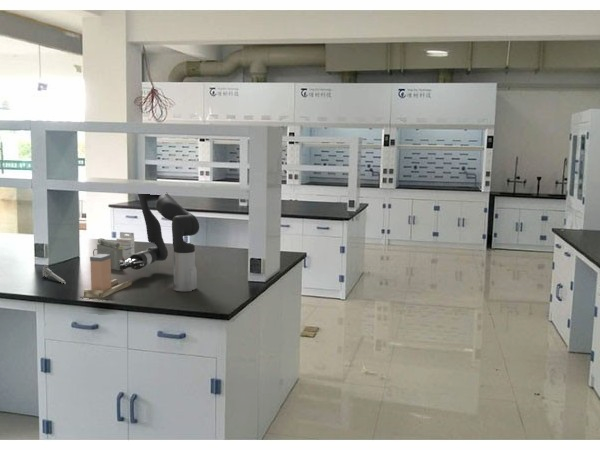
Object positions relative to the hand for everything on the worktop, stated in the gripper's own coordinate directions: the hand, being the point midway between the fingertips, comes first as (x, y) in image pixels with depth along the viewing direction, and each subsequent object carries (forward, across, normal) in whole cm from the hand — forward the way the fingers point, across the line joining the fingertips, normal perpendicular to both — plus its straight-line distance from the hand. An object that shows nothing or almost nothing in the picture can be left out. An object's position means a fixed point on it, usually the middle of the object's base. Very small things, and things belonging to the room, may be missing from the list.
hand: (121, 267), depth 268 cm
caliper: (-2, -36, +9) cm, 37 cm away
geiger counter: (-36, -30, +9) cm, 47 cm away
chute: (+11, 0, +9) cm, 14 cm away
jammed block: (+16, 0, +8) cm, 18 cm away
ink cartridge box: (-55, -30, +9) cm, 63 cm away
